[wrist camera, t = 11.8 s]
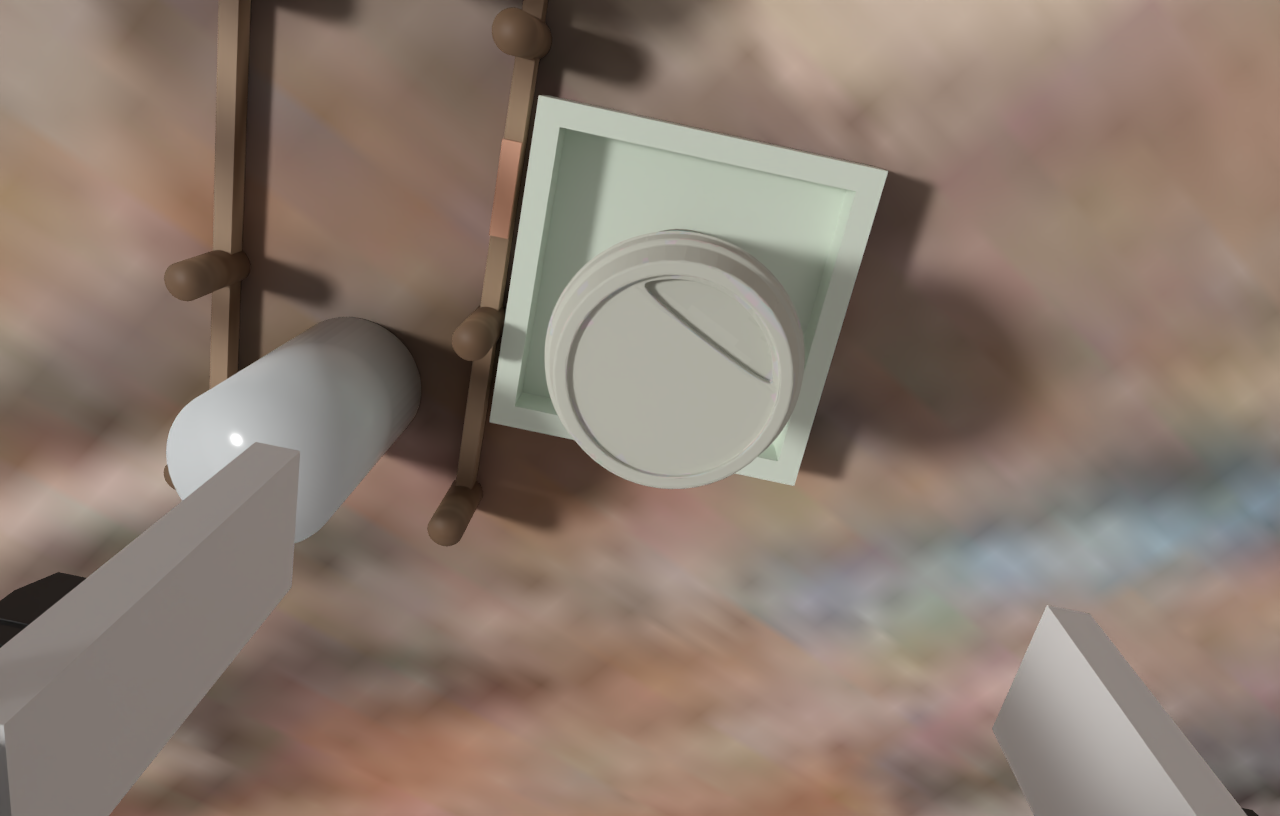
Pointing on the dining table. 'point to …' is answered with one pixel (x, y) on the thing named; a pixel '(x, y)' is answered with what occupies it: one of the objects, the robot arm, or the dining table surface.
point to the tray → (680, 199)
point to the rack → (485, 325)
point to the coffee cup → (674, 359)
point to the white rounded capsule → (305, 414)
